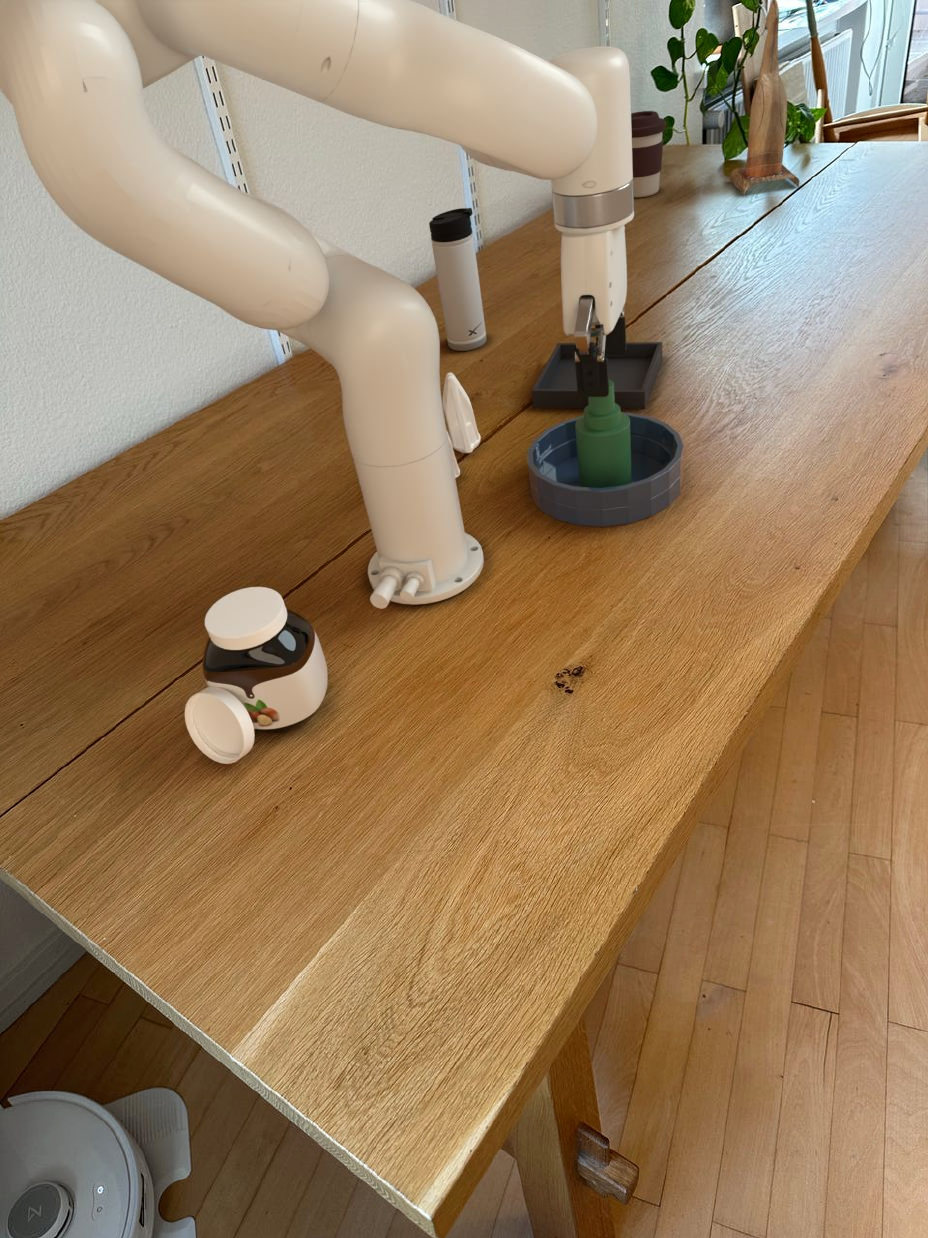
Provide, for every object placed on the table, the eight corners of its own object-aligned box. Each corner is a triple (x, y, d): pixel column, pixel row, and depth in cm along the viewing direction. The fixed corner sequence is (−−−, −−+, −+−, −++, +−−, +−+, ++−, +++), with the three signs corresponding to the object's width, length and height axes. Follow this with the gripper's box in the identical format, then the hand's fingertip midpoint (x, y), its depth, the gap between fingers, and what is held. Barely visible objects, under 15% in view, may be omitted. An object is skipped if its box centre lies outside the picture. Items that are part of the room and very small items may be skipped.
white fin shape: (460, 437, 116) (447, 358, 109) (489, 440, 114) (478, 360, 107) (421, 485, 108) (404, 403, 101) (451, 489, 106) (436, 406, 99)
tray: (645, 411, 114) (644, 391, 112) (533, 409, 119) (531, 390, 117) (662, 360, 125) (662, 341, 123) (559, 360, 130) (557, 342, 128)
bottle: (626, 499, 98) (623, 397, 90) (574, 496, 100) (567, 396, 92) (635, 471, 103) (633, 371, 95) (585, 469, 105) (579, 371, 97)
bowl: (670, 534, 93) (670, 494, 90) (514, 524, 98) (509, 486, 95) (691, 451, 105) (692, 413, 102) (551, 446, 111) (547, 410, 107)
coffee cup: (612, 192, 191) (610, 115, 181) (655, 182, 192) (655, 105, 182) (627, 203, 183) (625, 123, 174) (672, 193, 184) (672, 113, 174)
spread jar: (340, 673, 84) (308, 578, 76) (321, 765, 75) (283, 667, 67) (220, 683, 85) (178, 590, 78) (188, 773, 76) (138, 679, 69)
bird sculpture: (781, 173, 184) (796, -12, 163) (801, 187, 175) (819, -7, 154) (728, 182, 184) (736, -1, 164) (745, 197, 175) (756, 5, 155)
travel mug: (485, 350, 136) (467, 216, 124) (444, 352, 138) (422, 220, 125) (492, 333, 141) (475, 202, 128) (452, 336, 142) (432, 206, 130)
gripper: (574, 179, 89) (585, 339, 100) (531, 239, 77) (549, 413, 88) (648, 173, 87) (651, 338, 98) (615, 234, 75) (623, 413, 86)
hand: (603, 373), depth 93 cm, fingers open, 9 cm apart
